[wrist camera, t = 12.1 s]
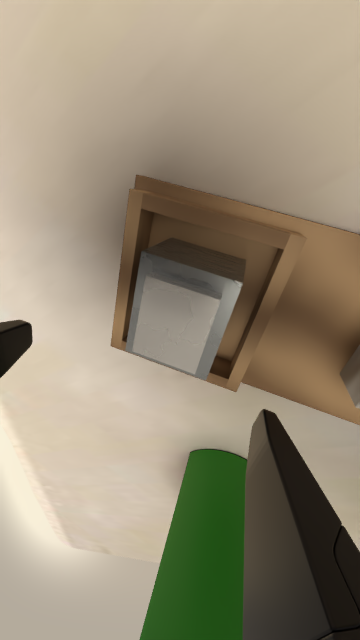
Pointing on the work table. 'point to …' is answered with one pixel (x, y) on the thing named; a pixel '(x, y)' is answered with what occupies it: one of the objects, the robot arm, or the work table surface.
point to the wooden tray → (262, 293)
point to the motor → (203, 555)
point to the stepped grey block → (183, 304)
